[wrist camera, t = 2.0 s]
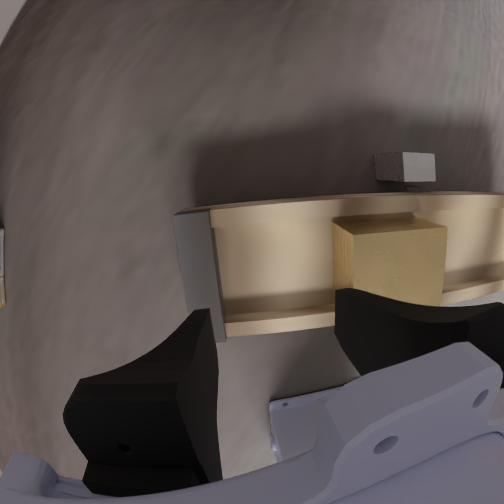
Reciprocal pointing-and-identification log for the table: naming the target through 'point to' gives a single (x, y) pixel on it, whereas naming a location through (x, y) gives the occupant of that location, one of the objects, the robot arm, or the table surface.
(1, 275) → the crayon box
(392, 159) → the grey rectangular bar
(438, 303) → the block
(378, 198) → the beam
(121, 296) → the table surface
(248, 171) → the table surface
